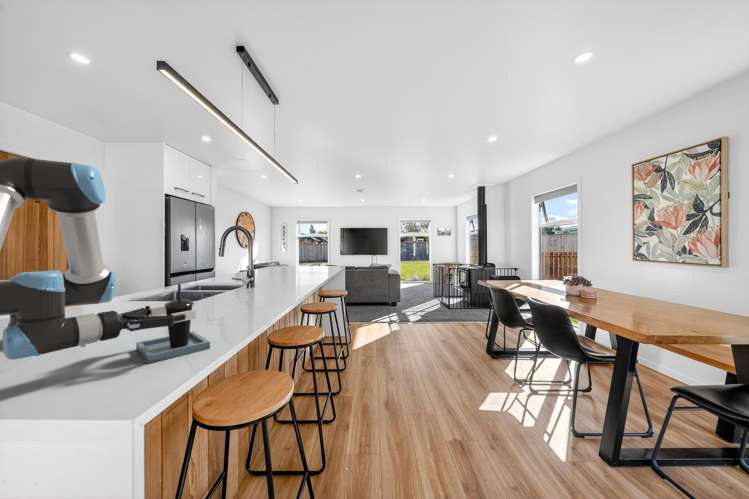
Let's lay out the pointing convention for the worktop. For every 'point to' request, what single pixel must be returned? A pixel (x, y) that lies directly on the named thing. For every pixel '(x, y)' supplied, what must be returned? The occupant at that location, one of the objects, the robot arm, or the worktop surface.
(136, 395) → the worktop surface
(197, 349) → the slate tray
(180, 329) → the drinking cup
